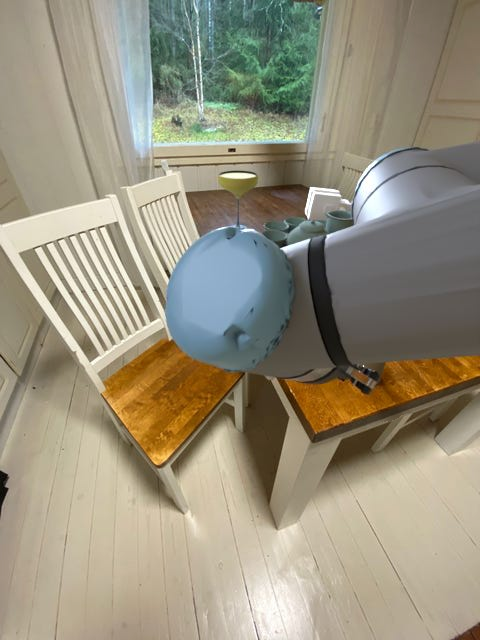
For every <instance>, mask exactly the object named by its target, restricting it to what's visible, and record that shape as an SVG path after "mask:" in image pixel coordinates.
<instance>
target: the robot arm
mask: <svg viewBox="0 0 480 640" xmlns="http://www.w3.org/2000/svg"><path fill="white" fill-rule="evenodd" d="M350 203H351V217H352V218H353V222H354V226H351V227H349V228H346V229H343V230H340V231H337V232H334V233H331V234H329V235H328V234H325V235H321V236H318V237H315V238H310V239H307V240H304V241H301V242H298V243H295V244H292V245H289V246H286V247H283V248H280V247H279V246H278V245H276V244H275V243H274V241H273V240H270V239H267V238H266V237H265V236H264V235H263V234H261V233H262V232H259V231H257V230H255V229H254V228H249V229H247V228H241V227H229V226H224V227H219V228H216V229H213V230H211V231H209V232H207V233H206V234H204V235H202V236H200V237H199V238H198V239H196V240H195V241H194V242H193V243H192V244H191V245H190V246H189V247H188V248H187V249H186V250H185V251H184V253H183V254H182V255H181V256H180V258H179V260H178V261H177V262H176V263H175V266H174V268H173V270H172V271H171V273H170V277H169V279H168V282H167V286H166V291H165V294H166V295H165V297H166V301H165V308H164V317H165V322H166V327H167V329H168V332H169V334H170V336H171V338H172V340H173V342H174V343H175V345H176V346H177V347H178V348H179V349H180V350H181V352H183V353H184V354H185V355H186V356H188V357H189V358H191V359H193V360H195V361H197V362H200V363H203V364H206V365H210V366H214V367H215V368H218V369H219V370H224V372H225V373H230V374H234V373H239V372H241V373H247V374H254V375H259V376H263V377H264V378H265V379H266V380H268V381H273V380H274V379H275V378H277V379H282V380H287V381H292V382H297V383H300V384H301V383H302V384H306V385H324V384H327V383H329V382H332V381H335V380H336V379H338V380H340V381H342V382H343V383H344V382H345V381H346V380H349V381H350V384H351V385H352V386H354V387H355V388H357V389H358V390H359V391H360V393H362V394H363V395H367V396H369V395H370V394H371V392H372V391H373V390H374V388H375V386H377V385H376V383H377V382H378V380H379V379H380V377H381V376H380V375H379V374H378V372H376V371H375V370H374V371H372V370H370V369H368V368H366V367H365V366H361V365H359V366H358V368H357V365H358V364H368V363H381V362H386V363H393V362H394V363H395V362H407V361H420V360H423V361H424V360H434V359H435V360H436V359H437V360H438V359H451V358H464V357H476V356H480V141H473V142H467V143H462V144H456V145H452V146H451V145H450V146H445V147H441V148H434V149H428V148H425V147H419V146H409V147H402V148H397V149H394V150H391V151H388V152H386V153H384V154H382V155H381V156H379V157H378V158H376V159H375V160H374V161H373V162H371V163H370V164H369V165H368V167H367V168H365V170H364V171H363V173H362V175H361V176H360V178H359V180H358V182H357V184H356V187H355V190H354V195H353V199H352V200H351V202H350ZM381 378H382V377H381ZM376 381H377V382H376Z"/></svg>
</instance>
